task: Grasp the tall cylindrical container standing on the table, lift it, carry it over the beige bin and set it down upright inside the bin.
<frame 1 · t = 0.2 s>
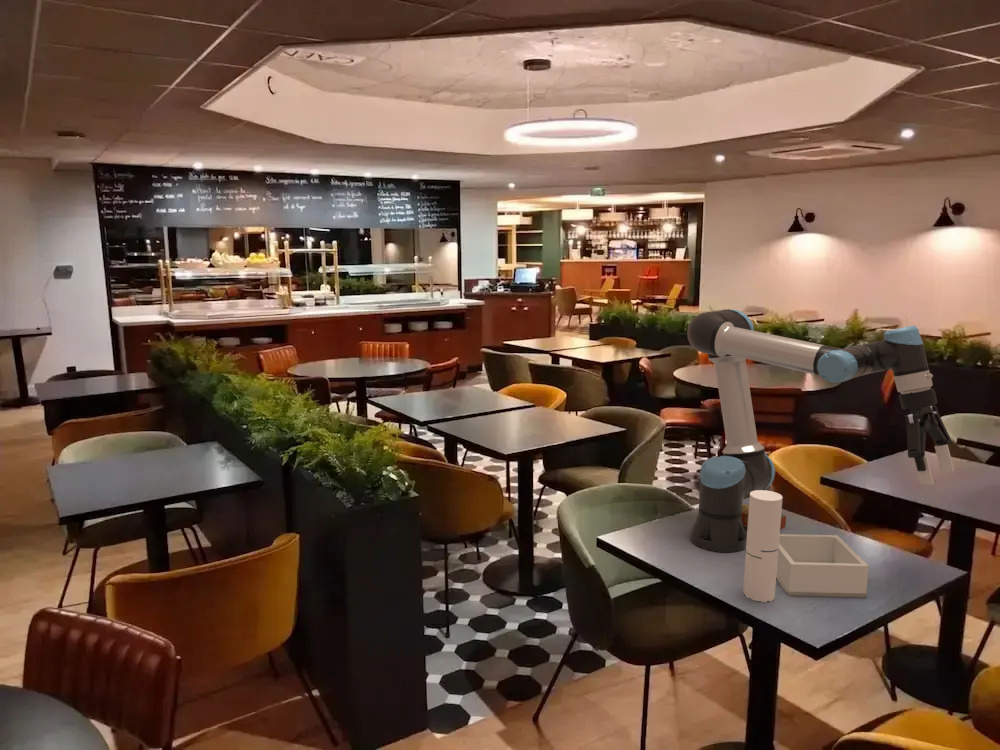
hand: (937, 477, 171), 28 cm above the table, tool tilted 20°, fingers open, 13 cm apart
cylindrical container: (758, 595, 172), on the table
beige bin: (812, 579, 180), on the table
carton: (753, 525, 216), on the table
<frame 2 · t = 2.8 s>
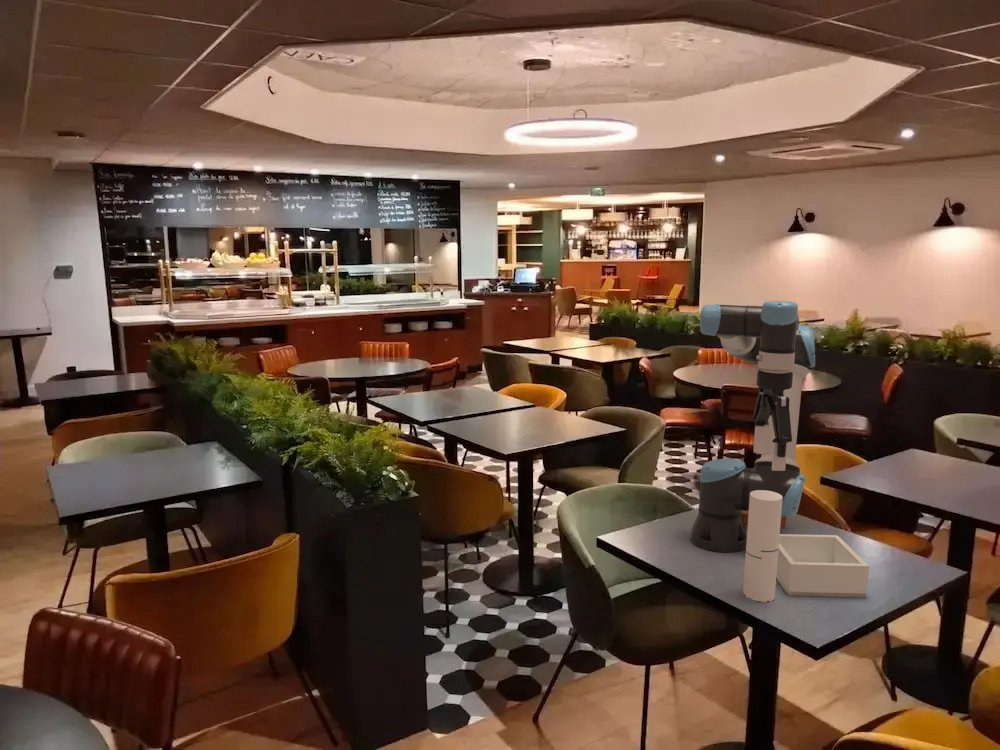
hand: (768, 461, 166), 33 cm above the table, tool pointing down, fingers open, 13 cm apart
nothing on the table moved.
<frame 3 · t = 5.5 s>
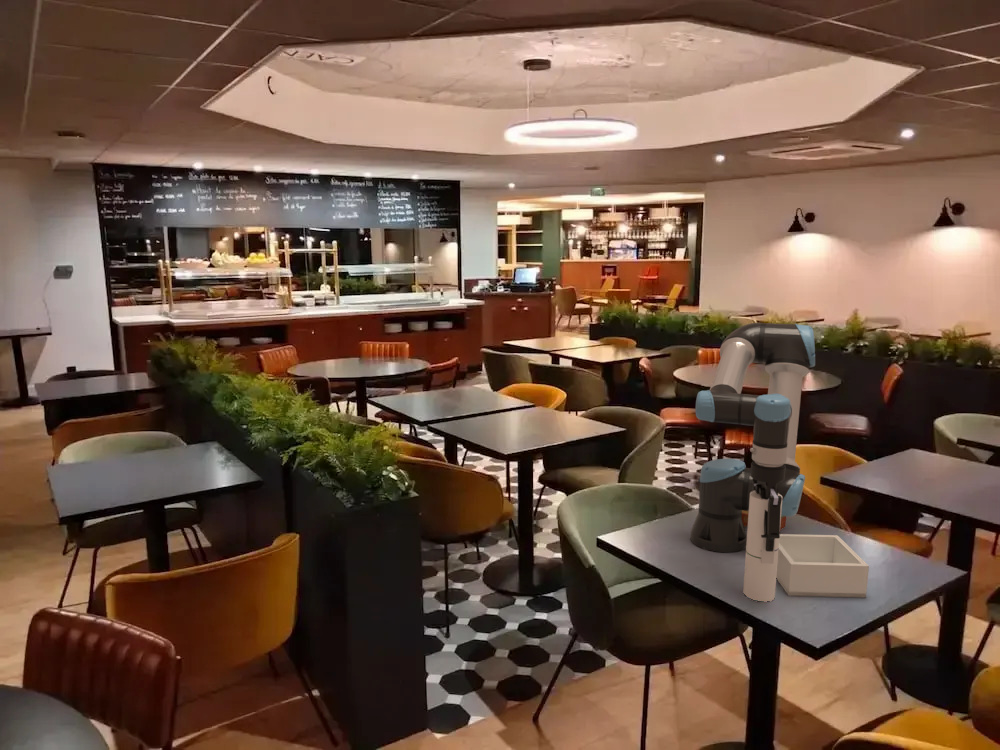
hand: (761, 555, 170), 10 cm above the table, tool pointing down, fingers closed on cylindrical container, 7 cm apart
cylindrical container: (758, 595, 172), on the table, touching gripper
everything else where it was.
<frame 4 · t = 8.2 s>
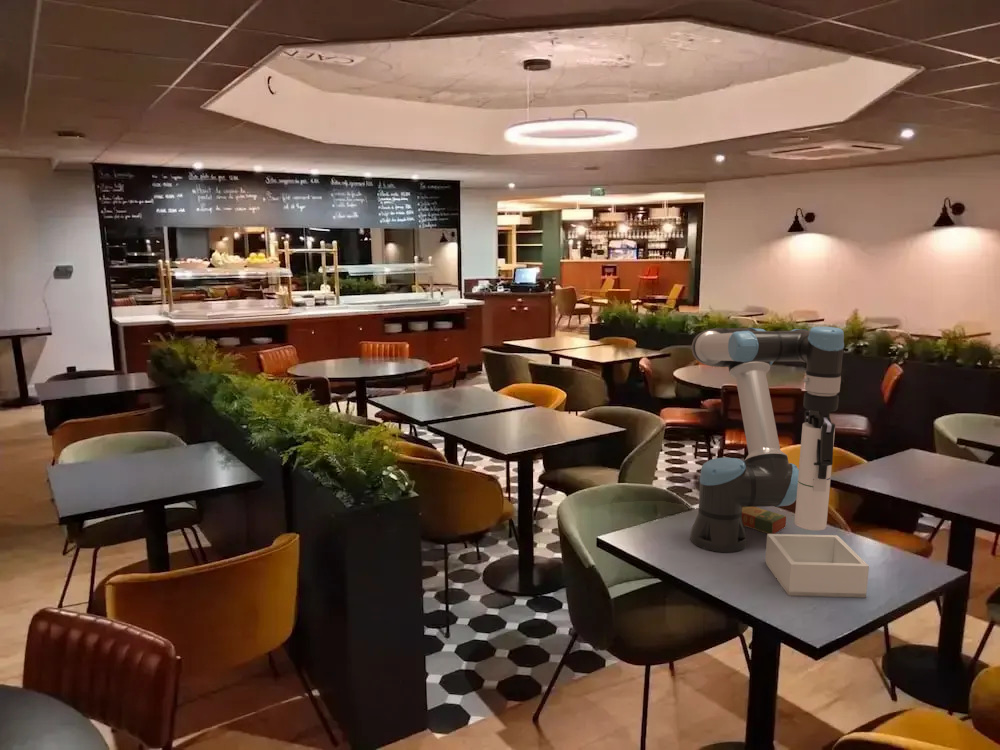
hand: (813, 485, 174), 25 cm above the table, tool pointing down, fingers closed on cylindrical container, 7 cm apart
cylindrical container: (810, 525, 176), point 15 cm above the table, touching gripper
everything else where it was.
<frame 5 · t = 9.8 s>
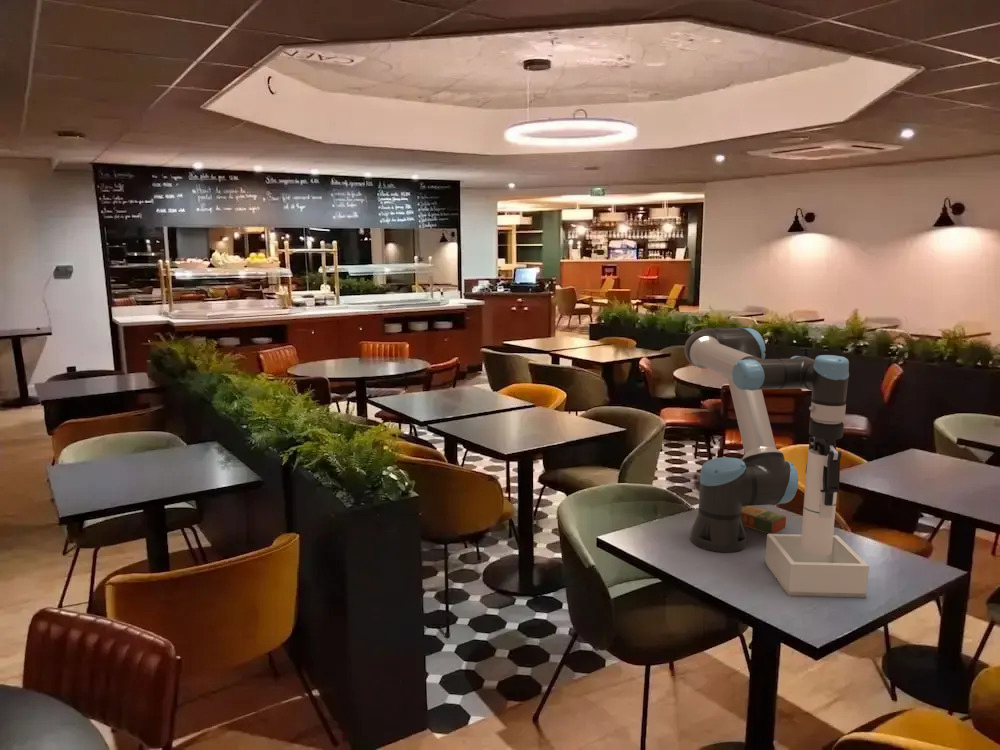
hand: (819, 510, 177), 18 cm above the table, tool pointing down, fingers closed on cylindrical container, 7 cm apart
cylindrical container: (815, 550, 179), point 8 cm above the table, touching gripper
everything else where it was.
when the fingers open (13 cm above the table, at t = 11.2 s): cylindrical container drops 1 cm, resting on beige bin.
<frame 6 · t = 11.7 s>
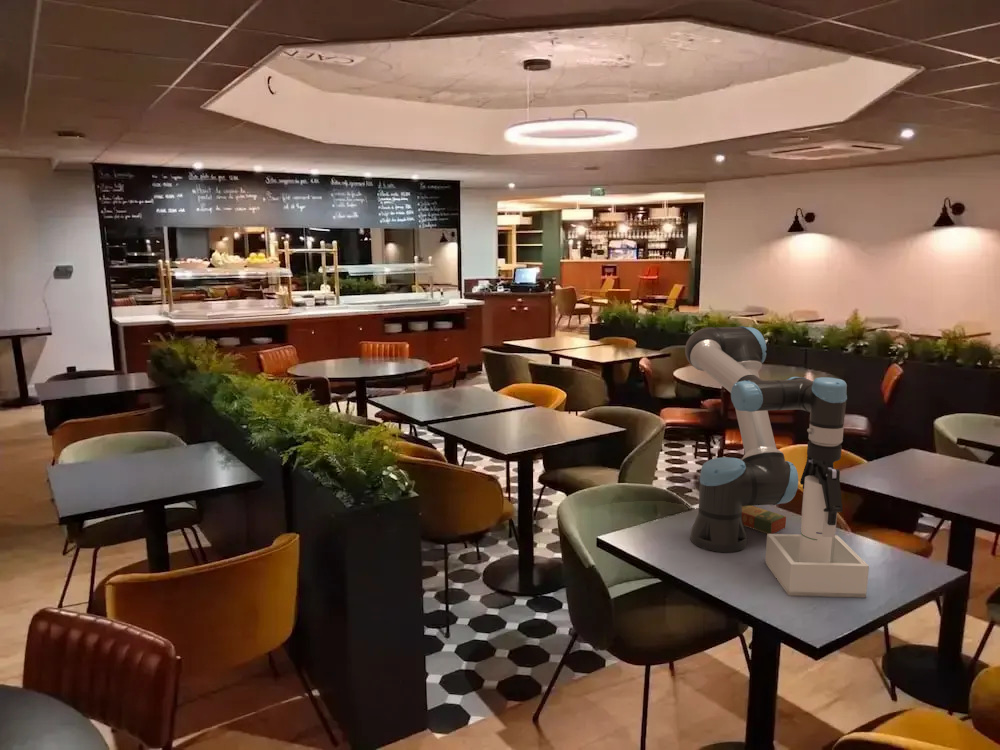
hand: (817, 525, 177), 14 cm above the table, tool pointing down, fingers open, 13 cm apart
cylindrical container: (813, 575, 180), point 1 cm above the table, touching beige bin
everything else where it was.
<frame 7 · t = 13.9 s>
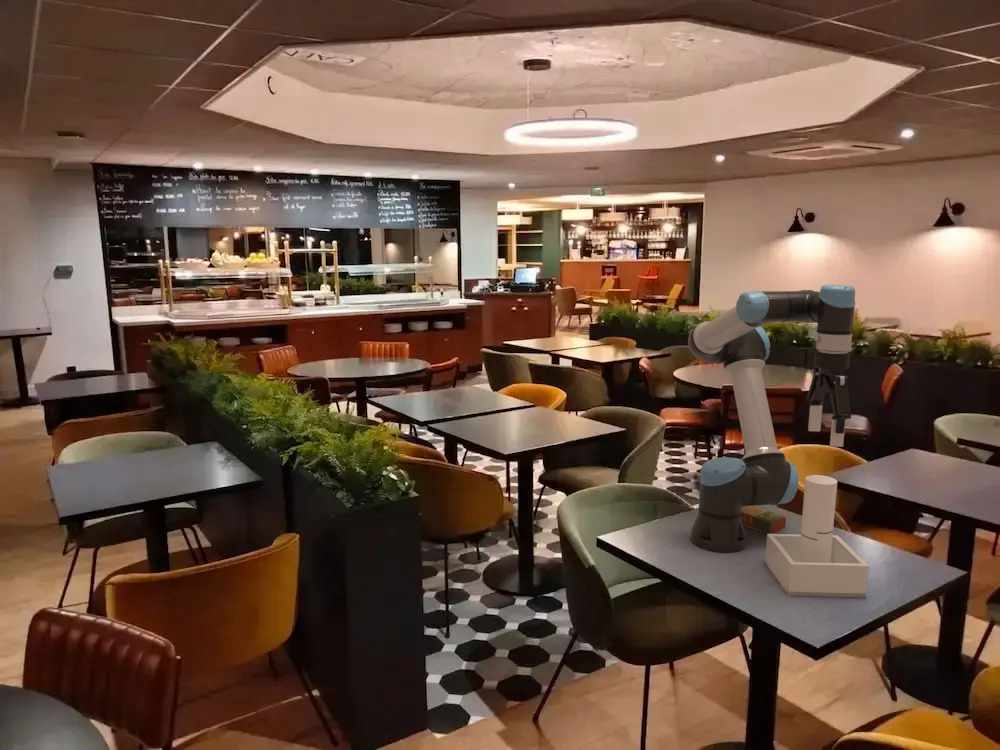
hand: (824, 438, 174), 36 cm above the table, tool pointing down, fingers open, 13 cm apart
nothing on the table moved.
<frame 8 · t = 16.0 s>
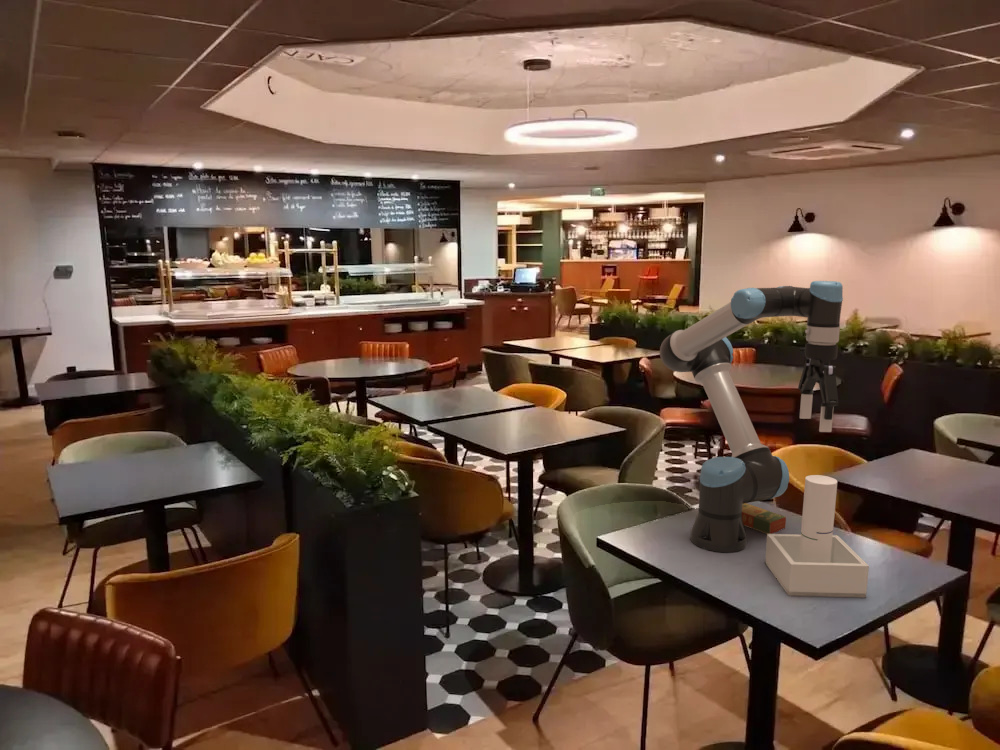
hand: (814, 424, 185), 37 cm above the table, tool pointing down, fingers open, 13 cm apart
nothing on the table moved.
at the end: cylindrical container inside the target area on the beige bin (0.0 cm from its centre), point 0.8 cm above the beige bin's base; cylindrical container tilted 0°; the gripper is holding nothing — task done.
